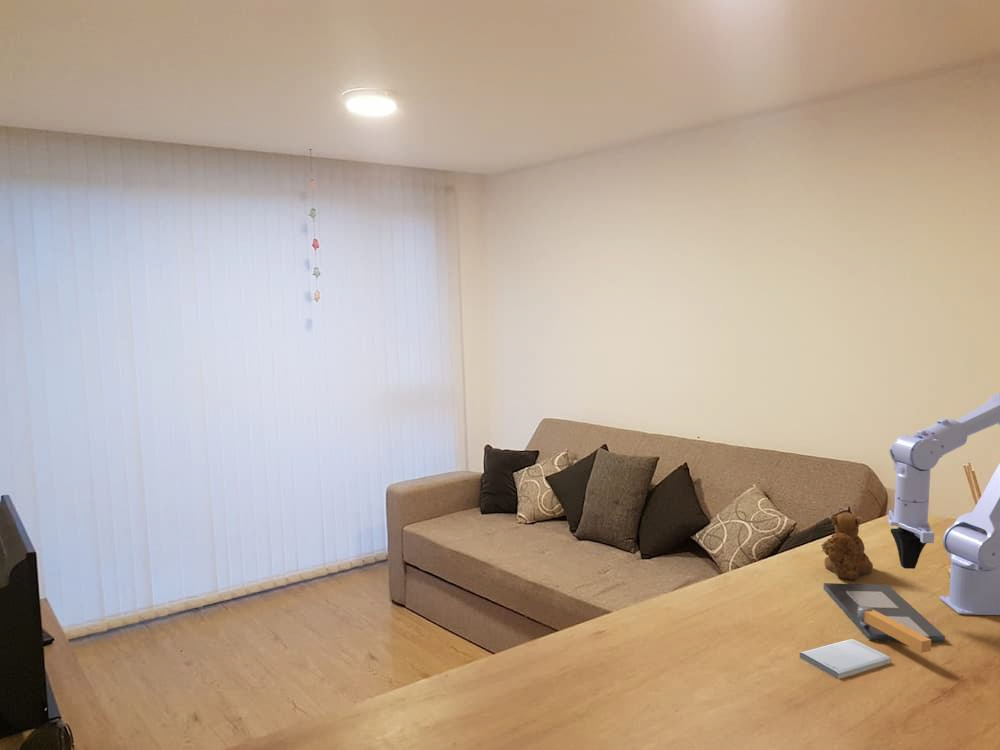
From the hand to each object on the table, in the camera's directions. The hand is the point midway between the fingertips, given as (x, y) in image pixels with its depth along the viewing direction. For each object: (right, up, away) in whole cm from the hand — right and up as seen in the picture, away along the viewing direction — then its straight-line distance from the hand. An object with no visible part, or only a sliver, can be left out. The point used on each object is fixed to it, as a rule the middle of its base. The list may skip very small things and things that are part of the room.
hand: (908, 567), depth 146 cm
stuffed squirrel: (-2, -7, +23) cm, 24 cm away
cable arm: (-10, -8, -13) cm, 18 cm away
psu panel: (-5, -9, +1) cm, 11 cm away
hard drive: (-20, -12, -17) cm, 29 cm away
